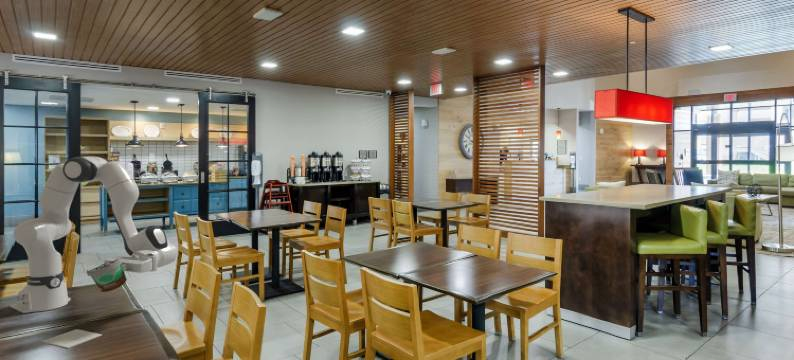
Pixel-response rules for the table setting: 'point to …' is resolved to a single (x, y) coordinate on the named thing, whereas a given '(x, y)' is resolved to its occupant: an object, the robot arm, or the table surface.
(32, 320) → the table surface
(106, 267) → the food container
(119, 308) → the table surface
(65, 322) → the table surface
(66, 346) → the cream flat rectangular plate
